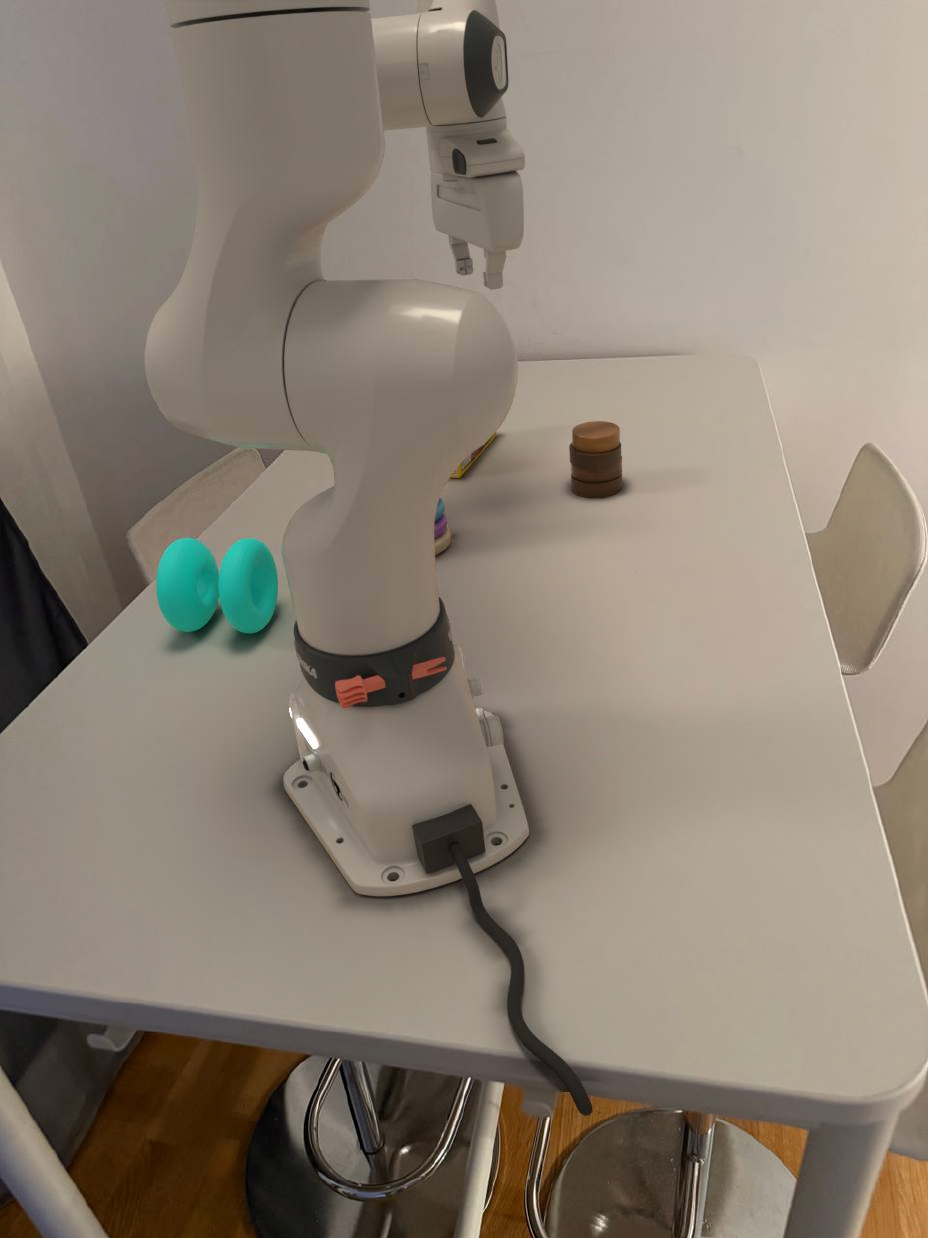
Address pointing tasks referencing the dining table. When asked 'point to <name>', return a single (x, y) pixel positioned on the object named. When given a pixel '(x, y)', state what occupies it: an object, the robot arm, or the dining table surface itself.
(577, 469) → the chip pile
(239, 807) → the dining table surface
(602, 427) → the oak chip
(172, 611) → the donuts
